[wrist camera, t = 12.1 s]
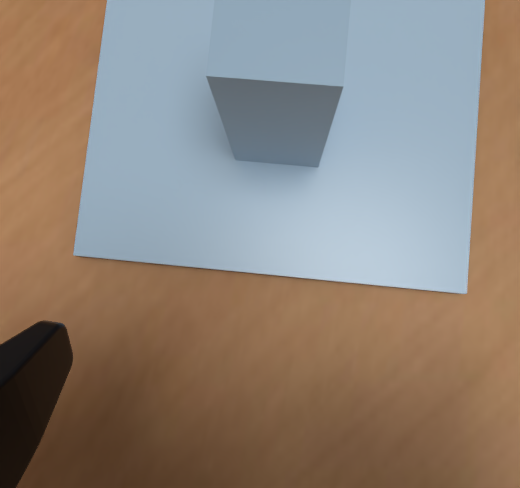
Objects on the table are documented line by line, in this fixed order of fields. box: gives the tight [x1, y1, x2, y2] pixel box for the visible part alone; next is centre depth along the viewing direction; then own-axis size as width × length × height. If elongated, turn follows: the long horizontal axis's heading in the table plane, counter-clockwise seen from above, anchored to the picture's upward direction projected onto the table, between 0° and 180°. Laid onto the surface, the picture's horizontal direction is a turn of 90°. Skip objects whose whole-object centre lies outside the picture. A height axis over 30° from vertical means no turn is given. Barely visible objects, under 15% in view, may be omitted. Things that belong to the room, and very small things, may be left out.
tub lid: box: [73, 0, 485, 294], centre depth 15 cm, size 11×14×8 cm
